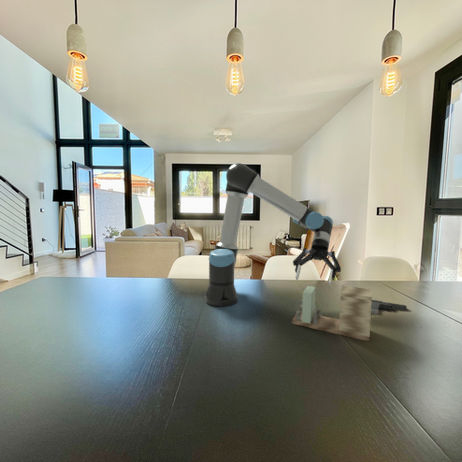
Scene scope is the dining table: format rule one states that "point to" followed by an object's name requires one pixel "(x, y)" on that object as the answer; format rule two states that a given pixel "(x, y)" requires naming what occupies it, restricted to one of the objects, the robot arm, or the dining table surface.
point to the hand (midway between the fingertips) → (312, 281)
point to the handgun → (385, 306)
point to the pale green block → (308, 304)
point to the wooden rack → (345, 315)
